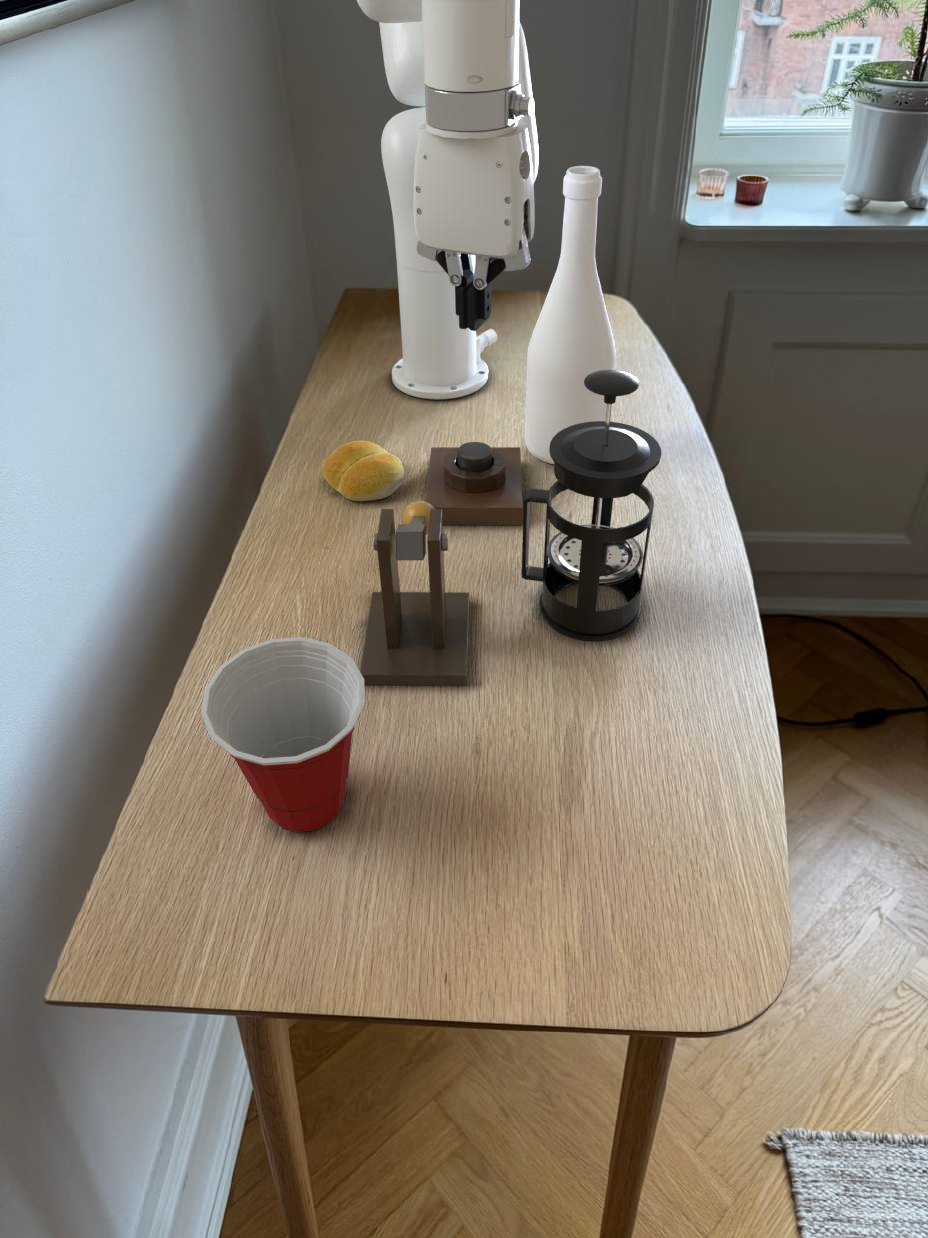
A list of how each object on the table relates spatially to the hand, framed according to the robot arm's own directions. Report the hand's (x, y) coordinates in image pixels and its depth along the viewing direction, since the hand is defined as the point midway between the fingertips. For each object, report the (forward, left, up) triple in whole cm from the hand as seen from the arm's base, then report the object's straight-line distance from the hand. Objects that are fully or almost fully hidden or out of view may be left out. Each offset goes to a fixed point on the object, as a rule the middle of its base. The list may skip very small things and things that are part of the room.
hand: (473, 323), depth 87 cm
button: (0, 0, -15) cm, 15 cm away
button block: (0, 0, -19) cm, 19 cm away
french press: (+8, +20, -19) cm, 29 cm away
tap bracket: (+21, +11, -19) cm, 31 cm away
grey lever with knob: (+18, +9, -12) cm, 23 cm away
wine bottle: (-14, +2, -19) cm, 24 cm away
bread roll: (+6, -11, -19) cm, 23 cm away
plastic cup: (+40, +17, -19) cm, 48 cm away
